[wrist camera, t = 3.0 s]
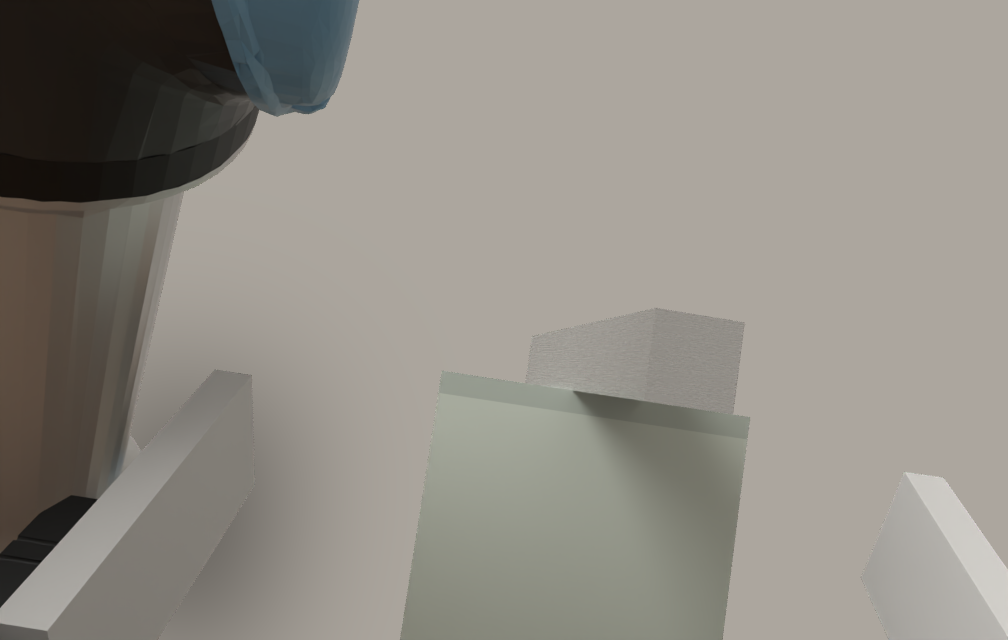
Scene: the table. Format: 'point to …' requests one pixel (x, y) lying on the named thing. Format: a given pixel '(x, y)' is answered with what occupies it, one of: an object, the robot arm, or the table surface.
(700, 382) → the rail bar
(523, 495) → the pedestal
